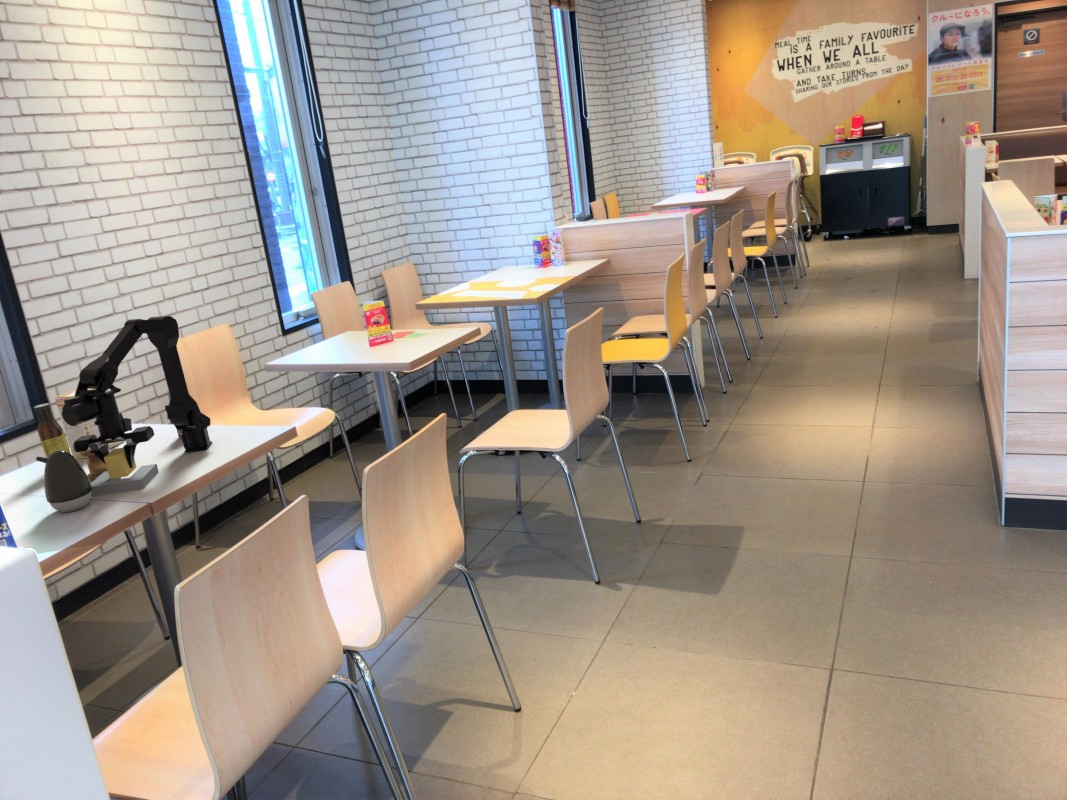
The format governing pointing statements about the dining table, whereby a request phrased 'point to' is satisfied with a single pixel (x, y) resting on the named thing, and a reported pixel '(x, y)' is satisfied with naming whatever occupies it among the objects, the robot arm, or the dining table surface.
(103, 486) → the gray u-shaped block
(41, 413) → the sauce bottle
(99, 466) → the ball
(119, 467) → the tab
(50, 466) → the pump dispenser
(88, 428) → the coffeecake box
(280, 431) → the dining table surface
